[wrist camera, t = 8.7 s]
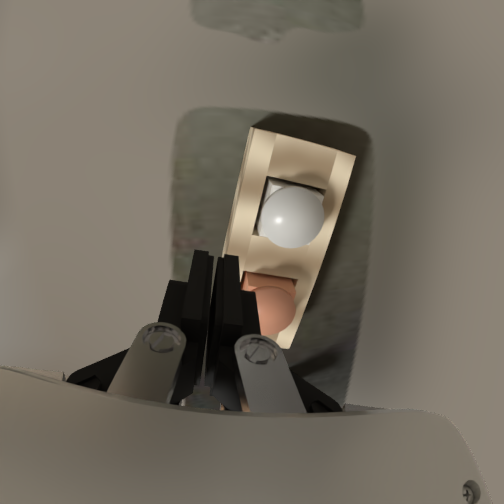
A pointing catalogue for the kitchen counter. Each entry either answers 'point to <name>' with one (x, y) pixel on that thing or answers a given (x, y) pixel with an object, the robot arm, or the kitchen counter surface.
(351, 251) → the kitchen counter surface
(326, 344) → the kitchen counter surface
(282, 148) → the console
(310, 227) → the grey button
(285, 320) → the terracotta button
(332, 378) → the kitchen counter surface
